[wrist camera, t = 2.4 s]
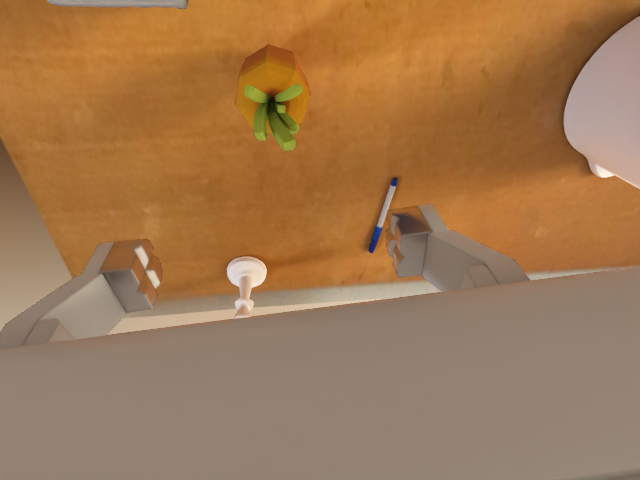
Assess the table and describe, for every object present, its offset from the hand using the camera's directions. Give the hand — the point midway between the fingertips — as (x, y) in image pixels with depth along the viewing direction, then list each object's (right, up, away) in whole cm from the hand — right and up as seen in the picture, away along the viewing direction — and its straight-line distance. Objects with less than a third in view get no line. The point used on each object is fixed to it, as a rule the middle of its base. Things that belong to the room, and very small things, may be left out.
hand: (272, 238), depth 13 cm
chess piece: (-8, -4, +34) cm, 35 cm away
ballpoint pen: (+9, +3, +31) cm, 32 cm away
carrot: (-2, +16, +19) cm, 25 cm away
